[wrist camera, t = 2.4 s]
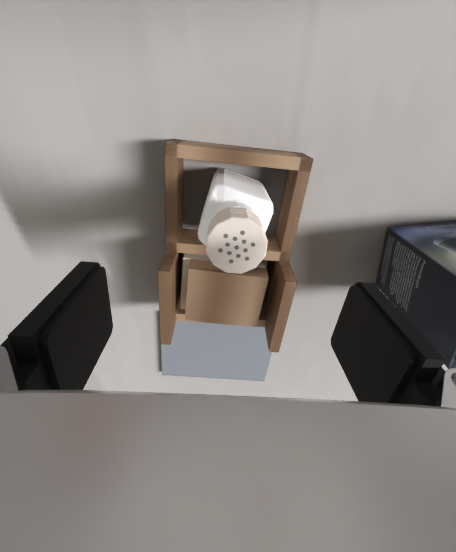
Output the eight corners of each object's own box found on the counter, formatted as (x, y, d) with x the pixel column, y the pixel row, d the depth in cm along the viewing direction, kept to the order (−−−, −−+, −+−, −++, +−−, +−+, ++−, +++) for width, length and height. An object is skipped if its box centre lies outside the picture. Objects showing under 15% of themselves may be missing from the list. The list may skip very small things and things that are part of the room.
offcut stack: (266, 249, 25) (274, 277, 21) (255, 296, 27) (260, 329, 23) (186, 239, 24) (177, 265, 20) (182, 288, 27) (174, 320, 23)
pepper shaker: (246, 227, 24) (258, 289, 15) (201, 212, 23) (188, 268, 15) (265, 181, 22) (289, 224, 13) (216, 163, 21) (210, 197, 13)
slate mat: (277, 319, 29) (278, 322, 28) (263, 377, 33) (264, 381, 33) (161, 310, 28) (159, 313, 28) (162, 371, 33) (161, 374, 32)
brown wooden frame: (302, 153, 21) (328, 166, 15) (268, 307, 28) (278, 352, 23) (172, 138, 20) (153, 148, 15) (172, 300, 27) (160, 344, 22)
